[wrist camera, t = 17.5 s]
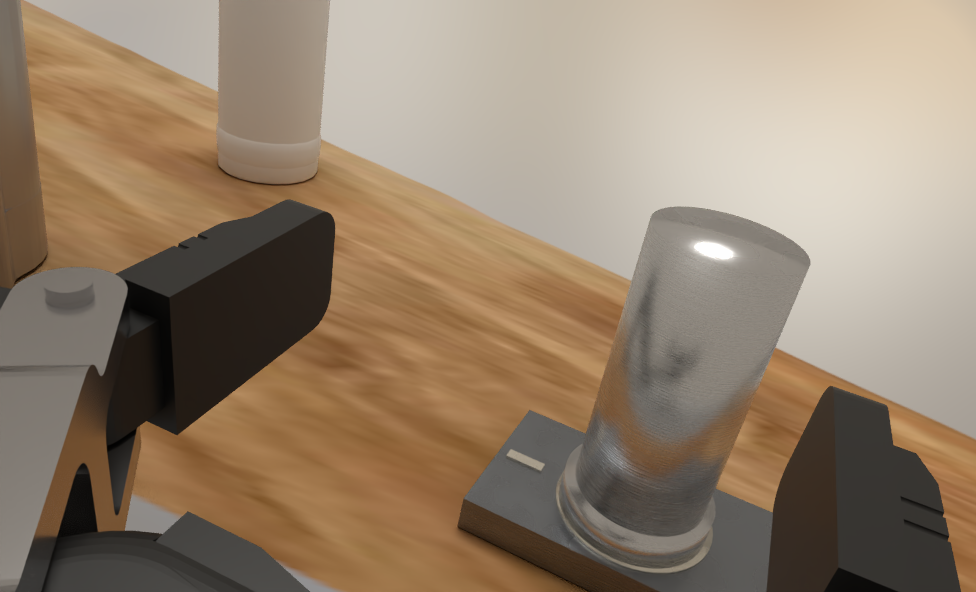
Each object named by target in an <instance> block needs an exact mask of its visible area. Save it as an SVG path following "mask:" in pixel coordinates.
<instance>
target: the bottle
mask: <svg viewBox="0 0 976 592" xmlns="http://www.w3.org/2000/svg"><path fill="white" fill-rule="evenodd" d="M329 5H330V0H219V76H218V77H219V79H218V88H219V89H218V123H217V148H218V164H219V166H220V167H221V168H222V169H223V170H224V171H225V172H227V173H228V174H230V175H232V176H234V177H237V178H239V179H243V180H247V181H251V182H255V183H264V184H293V183H298V182H303V181H305V180H307V179H310V178H312V177H313V176H314V175H315V174H316V172H317V169H318V157H319V155H320V147H321V135H320V128H321V114H322V101H323V87H324V74H325V60H326V47H327V33H328V19H329Z"/></svg>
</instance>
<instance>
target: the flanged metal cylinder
mask: <svg viewBox="0 0 976 592" xmlns="http://www.w3.org/2000/svg"><path fill="white" fill-rule="evenodd" d="M809 266H810V259H809V256H808V255H807V253H806V252H805V251H804V250H803V249H802V248H801V247H800V246H799V245H797V244H796V243H795V242H793V241H792V240H790V239H789V238H787V237H785V236H784V235H782V234H780V233H778V232H776V231H774V230H772V229H770V228H768V227H766V226H763V225H761V224H758V223H756V222H753V221H750V220H748V219H744V218H741V217H738V216H735V215H731V214H727V213H723V212H719V211H714V210H709V209H703V208H695V207H669V208H664V209H660V210H658V211H656V212H654V213H653V214H652V216H651V218H650V222H649V225H648V228H647V232H646V235H645V239H644V242H643V245H642V248H641V252H640V255H639V258H638V262H637V265H636V268H635V271H634V275H633V278H632V281H631V285H630V288H629V291H628V295H627V298H626V301H625V305H624V308H623V311H622V315H621V318H620V321H619V325H618V328H617V331H616V335H615V338H614V341H613V345H612V348H611V351H610V355H609V358H608V361H607V365H606V368H605V371H604V375H603V378H602V381H601V385H600V388H599V391H598V395H597V398H596V401H595V405H594V408H593V411H592V415H591V418H590V421H589V424H588V428H587V431H586V434H585V438H584V441H583V444H581V445H579V446H578V447H577V448H576V449H574V450H573V452H572V453H571V454H570V456H569V458H568V460H567V463H566V466H565V470H564V473H563V476H562V480H561V483H560V487H559V502H560V506H561V509H562V511H563V514H564V516H565V518H566V519H567V521H568V522H569V524H570V525H571V527H572V528H573V529H574V530H575V531H576V533H577V534H578V535H579V536H580V537H581V538H582V539H584V540H585V541H586V542H587V543H588V544H590V545H591V546H592V547H594V548H595V549H597V550H598V551H600V552H602V553H604V554H605V555H607V556H609V557H611V558H613V559H616V560H618V561H621V562H624V563H627V564H630V565H634V566H638V567H644V568H654V569H663V568H671V567H675V566H680V565H682V564H684V563H687V562H688V561H690V560H692V559H693V558H694V557H695V556H696V555H697V554H698V553H699V552H700V551H701V549H702V547H703V545H704V543H705V541H706V538H707V536H708V534H709V531H710V529H711V527H712V524H713V522H714V519H715V514H716V510H715V502H714V498H713V496H712V495H713V493H714V491H715V488H716V486H717V484H718V481H719V479H720V476H721V474H722V472H723V469H724V467H725V465H726V462H727V460H728V458H729V455H730V453H731V450H732V448H733V446H734V443H735V441H736V439H737V436H738V434H739V432H740V429H741V427H742V425H743V422H744V420H745V417H746V415H747V413H748V410H749V408H750V406H751V403H752V401H753V399H754V396H755V394H756V391H757V389H758V387H759V384H760V382H761V380H762V377H763V375H764V373H765V370H766V368H767V365H768V363H769V361H770V358H771V356H772V354H773V351H774V349H775V347H776V344H777V342H778V339H779V337H780V335H781V332H782V330H783V328H784V325H785V323H786V321H787V318H788V316H789V313H790V311H791V309H792V306H793V304H794V302H795V299H796V297H797V294H798V292H799V290H800V287H801V285H802V283H803V280H804V278H805V276H806V273H807V271H808V269H809Z"/></svg>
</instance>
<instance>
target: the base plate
mask: <svg viewBox="0 0 976 592" xmlns="http://www.w3.org/2000/svg"><path fill="white" fill-rule="evenodd" d="M584 438H585V433H583V432H580V431H578V430H575V429H573V428H571V427H568V426H566V425H564V424H561V423H559V422H557V421H554V420H552V419H549V418H547V417H545V416H542V415H540V414H538V413H535V412H533V411H530V410H529V412H528V413H527V414H526V416H525V417H524V418H523V420H522V421H521V422H520V424H519V425H518V426H517V428H516V429H515V430H514V432H513V433H512V435H511V436H510V437H509V439H508V440H507V441H506V443H505V444H504V445H503V447H502V448H501V449H500V451H499V452H498V453H497V455H496V456H495V457H494V459H493V460H492V461H491V463H490V464H489V465H488V467H487V468H486V469H485V471H484V472H483V473H482V475H481V476H480V477H479V479H478V480H477V481H476V483H475V484H474V485H473V487H472V488H471V489H470V491H469V492H468V493H467V495H466V496H465V497H464V499H463V504H462V509H461V513H460V518H459V522H458V527H460V528H462V529H464V530H466V531H468V532H470V533H472V534H474V535H476V536H478V537H480V538H482V539H484V540H486V541H488V542H490V543H492V544H494V545H496V546H498V547H501V548H503V549H505V550H507V551H509V552H511V553H513V554H515V555H517V556H519V557H521V558H523V559H525V560H527V561H529V562H531V563H533V564H535V565H537V566H539V567H541V568H543V569H545V570H547V571H550V572H552V573H554V574H556V575H558V576H560V577H562V578H564V579H566V580H568V581H570V582H572V583H574V584H576V585H578V586H580V587H582V588H584V589H586V590H588V591H590V592H766V590H767V578H768V566H769V555H770V543H771V531H772V519H773V513H772V512H770V511H767V510H765V509H762V508H760V507H758V506H755V505H753V504H751V503H748V502H746V501H743V500H741V499H739V498H736V497H734V496H732V495H729V494H727V493H725V492H722V491H720V490H717V489H715V491H714V493H713V495H712V496H713V498H714V502H715V510H716V514H715V519H714V522H713V524H712V527H711V529H710V531H709V534H708V536H707V538H706V541H705V543H704V545H703V547H702V549H701V551H700V552H699V553H698V554H697V555H696V556H695V557H694V558H693V559H692V560H690V561H688V562H687V563H684V564H682V565H680V566H675V567H671V568H663V569H654V568H644V567H638V566H634V565H630V564H627V563H624V562H621V561H618V560H616V559H613V558H611V557H609V556H607V555H605V554H604V553H602V552H600V551H598V550H597V549H595V548H594V547H592V546H591V545H590V544H588V543H587V542H586V541H585V540H584V539H582V538H581V537H580V536H579V535H578V534H577V533H576V531H575V530H574V529H573V528H572V527H571V525H570V524H569V522H568V521H567V519H566V518H565V516H564V514H563V511H562V509H561V506H560V502H559V487H560V483H561V480H562V476H563V473H564V470H565V466H566V463H567V460H568V458H569V456H570V454H571V453H572V452H573V450H574V449H576V448H577V447H578V446H579V445H581V444H583V441H584Z"/></svg>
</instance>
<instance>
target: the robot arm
mask: <svg viewBox="0 0 976 592" xmlns="http://www.w3.org/2000/svg"><path fill="white" fill-rule="evenodd" d="M334 239H335V222H334V219H333V217H332V215H331V214H330V213H328V212H325V211H322V210H319V209H316V208H313V207H311V206H308V205H305V204H302V203H299V202H296V201H293V200H285V201H282V202H280V203H278V204H276V205H274V206H272V207H270V208H268V209H266V210H264V211H262V212H260V213H258V214H256V215H254V216H252V217H248V218H243V219H238V220H233V221H228V222H223V223H221V224H218V225H216V226H214V227H212V228H210V229H208V230H206V231H204V232H202V233H200V234H198V237H194V236H193V237H191V238H189V239H187V240H185V241H183V242H181V243H179V245H178V247H175V246H173V247H171V248H168V249H166V250H164V251H162V252H160V253H158V254H156V255H154V256H152V257H150V258H148V259H146V260H144V261H141V262H139V263H137V264H135V265H133V266H131V267H129V268H127V269H125V270H123V271H121V272H119V273H116V274H113V273H111V272H108V271H105V270H101V269H95V268H87V267H68V268H59V269H53V270H48V271H44V272H40V273H38V274H35V275H32V276H30V277H28V278H25V279H24V280H22V281H21V282H19V283H18V284H16V285H15V286H14V282H15V280H16V279H17V278H18V277H20V276H22V275H23V274H25V273H27V272H29V271H30V270H32V269H34V268H35V267H36V266H37V265H39V264H40V263H41V262H42V261H43V260H44V258H45V256H46V255H47V249H48V245H47V236H46V227H45V218H44V208H43V199H42V190H41V182H40V175H39V166H38V157H37V148H36V139H35V130H34V121H33V112H32V103H31V94H30V85H29V76H28V67H27V58H26V49H25V40H24V31H23V22H22V13H21V4H20V0H0V592H310V591H309V590H307V589H306V588H305V587H304V586H303V585H302V584H301V583H300V582H299V581H297V580H296V579H295V578H294V577H293V576H292V575H291V574H290V573H289V572H288V571H286V570H285V569H284V568H283V567H282V566H281V565H280V564H279V563H278V562H276V561H275V560H274V559H273V558H272V557H271V556H270V555H269V554H268V553H266V552H265V551H264V550H263V549H262V548H261V547H259V546H257V545H255V544H253V543H251V542H249V541H247V540H245V539H242V538H240V537H238V536H236V535H234V534H232V533H230V532H228V531H226V530H224V529H222V528H220V527H218V526H216V525H214V524H212V523H210V522H208V521H206V520H204V519H202V518H200V517H198V516H196V515H194V514H192V513H190V512H187V513H186V514H185V515H183V516H182V517H181V518H180V519H179V520H178V521H177V522H176V523H175V524H174V525H172V526H171V527H170V528H169V529H168V530H167V531H166V532H165V533H164V534H159V533H149V532H140V531H125V525H126V520H127V515H128V510H129V505H130V500H131V495H132V490H133V484H134V479H135V474H136V469H137V464H138V459H139V454H140V448H141V434H140V425H141V424H143V423H144V422H145V421H148V422H150V423H152V424H154V425H156V426H159V427H161V428H163V429H165V430H167V431H169V432H171V433H174V434H176V435H178V434H179V433H180V432H182V431H183V430H184V429H186V428H187V427H188V426H189V425H191V424H192V423H193V422H195V421H196V420H197V419H199V418H200V417H201V416H202V415H204V414H205V413H206V412H208V411H209V410H210V409H211V408H213V407H214V406H215V405H217V404H218V403H219V402H220V401H222V400H223V399H224V398H226V397H227V396H228V395H229V394H231V393H232V392H233V391H235V390H236V389H237V388H238V387H240V386H241V385H242V384H244V383H245V382H246V381H247V380H249V379H250V378H251V377H253V376H254V375H255V374H256V373H258V372H259V371H260V370H262V369H263V368H264V367H265V366H267V365H268V364H269V363H271V362H272V361H273V360H274V359H276V358H277V357H278V356H280V355H281V354H282V353H284V352H285V351H286V350H287V349H289V348H290V347H291V346H293V345H294V344H295V343H296V342H298V341H299V340H300V339H302V338H303V337H304V336H305V335H307V334H308V333H309V332H311V331H312V330H313V329H314V328H315V327H316V326H317V325H318V324H319V323H320V321H321V320H322V318H323V316H324V314H325V312H326V310H327V307H328V304H329V300H330V294H331V281H332V267H333V253H334ZM943 514H944V509H943V505H942V500H941V495H940V490H939V486H938V483H937V482H936V480H935V479H934V477H933V476H932V475H931V473H930V472H929V471H928V469H927V468H926V466H925V465H924V464H923V462H922V461H921V459H920V458H919V457H918V455H917V454H916V453H913V452H911V451H908V450H905V449H902V448H900V447H897V446H894V445H893V440H892V433H891V426H890V419H889V411H888V407H887V406H886V405H885V404H882V403H879V402H876V401H873V400H870V399H867V398H864V397H862V396H859V395H856V394H853V393H850V392H847V391H844V390H841V389H839V388H836V387H833V386H830V387H828V388H827V389H826V391H825V392H824V393H823V395H822V397H821V398H820V400H819V402H818V404H817V406H816V408H815V410H814V412H813V414H812V416H811V418H810V420H809V422H808V424H807V426H806V428H805V430H804V432H803V434H802V436H801V438H800V440H799V442H798V444H797V446H796V448H795V450H794V452H793V454H792V456H791V458H790V460H789V462H788V464H787V466H786V469H785V471H784V473H783V476H782V478H781V481H780V484H779V487H778V490H777V494H776V498H775V502H774V508H773V519H772V531H771V543H770V555H769V566H768V578H767V590H766V592H961V589H960V585H959V580H958V575H957V571H956V566H955V561H954V556H953V552H952V547H951V543H950V542H948V538H949V533H948V528H947V523H946V519H945V518H944V517H943Z"/></svg>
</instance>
